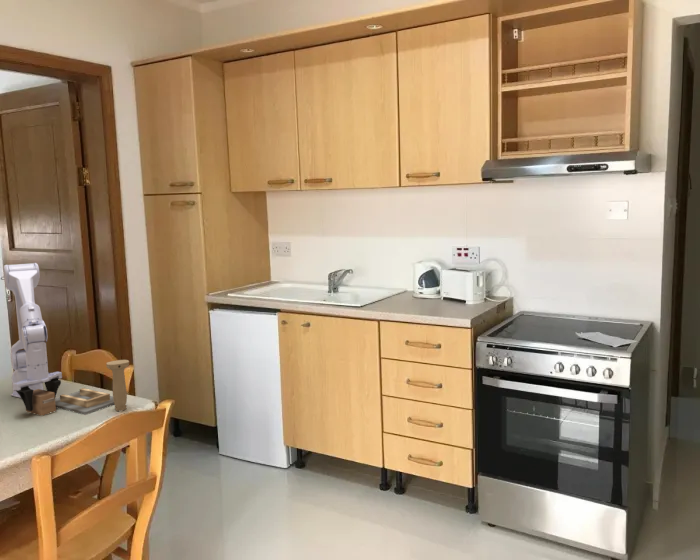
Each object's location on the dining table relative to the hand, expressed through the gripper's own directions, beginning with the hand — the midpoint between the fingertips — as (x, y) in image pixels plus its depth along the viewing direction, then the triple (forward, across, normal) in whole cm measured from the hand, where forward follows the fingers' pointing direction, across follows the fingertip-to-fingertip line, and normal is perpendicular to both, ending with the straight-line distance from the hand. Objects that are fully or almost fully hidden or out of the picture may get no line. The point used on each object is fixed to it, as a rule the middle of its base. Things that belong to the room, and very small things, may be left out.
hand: (40, 406), depth 188 cm
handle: (+2, +12, -21) cm, 24 cm away
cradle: (+1, +12, -5) cm, 13 cm away
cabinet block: (+2, 0, 0) cm, 2 cm away
